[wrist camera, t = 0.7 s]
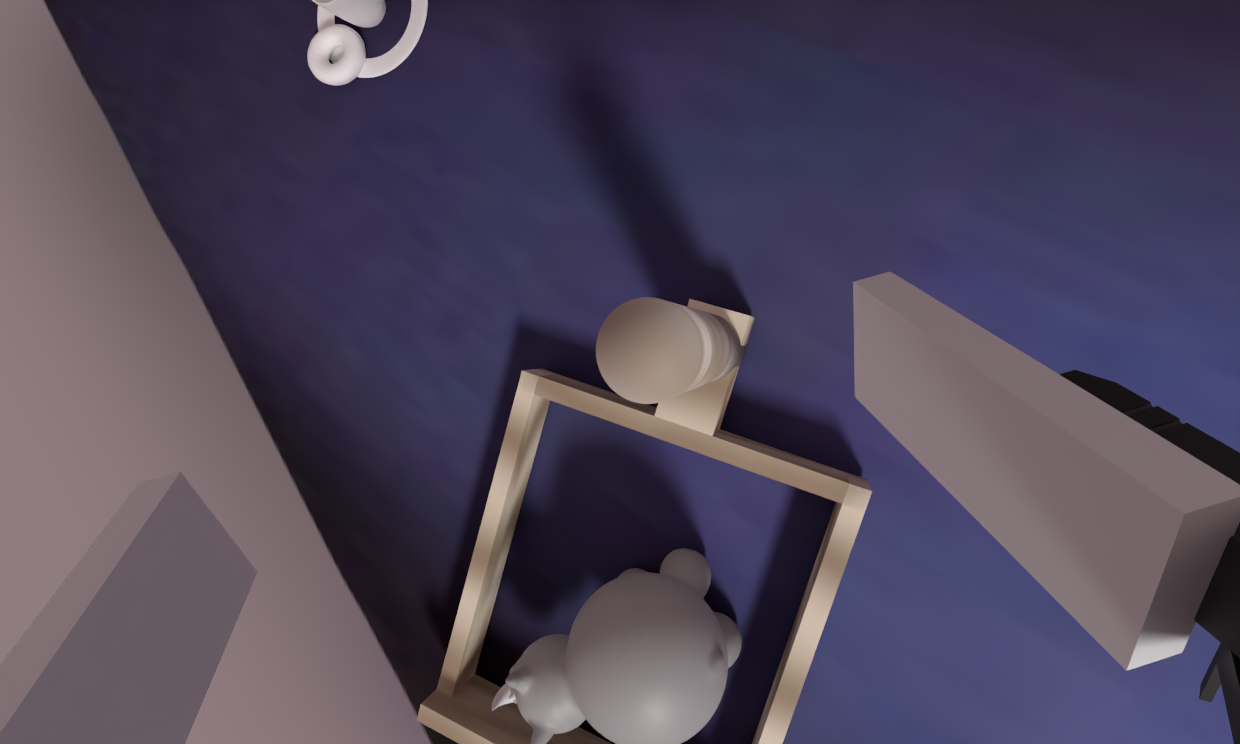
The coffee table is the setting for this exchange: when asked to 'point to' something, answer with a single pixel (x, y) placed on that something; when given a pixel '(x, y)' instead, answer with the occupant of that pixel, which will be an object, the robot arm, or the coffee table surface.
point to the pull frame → (685, 416)
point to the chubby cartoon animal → (631, 660)
